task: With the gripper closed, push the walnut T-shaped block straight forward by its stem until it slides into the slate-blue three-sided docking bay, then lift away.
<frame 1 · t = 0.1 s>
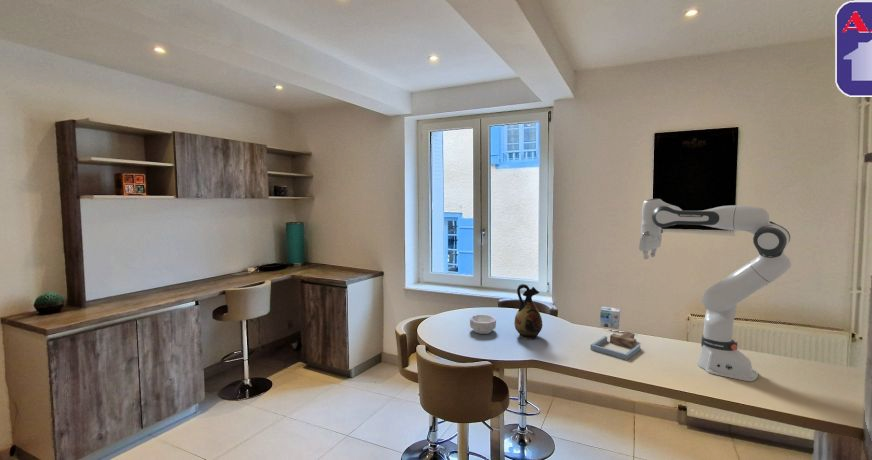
hand: (649, 257, 204), 48 cm above the counter, tool pointing down, fingers open, 8 cm apart
white stone bowl: (482, 331, 237), on the counter
docking bay: (615, 349, 208), on the counter
walnut T block: (625, 342, 217), on the counter
ceramic jug: (526, 336, 228), on the counter
light bulb box: (609, 326, 243), on the counter
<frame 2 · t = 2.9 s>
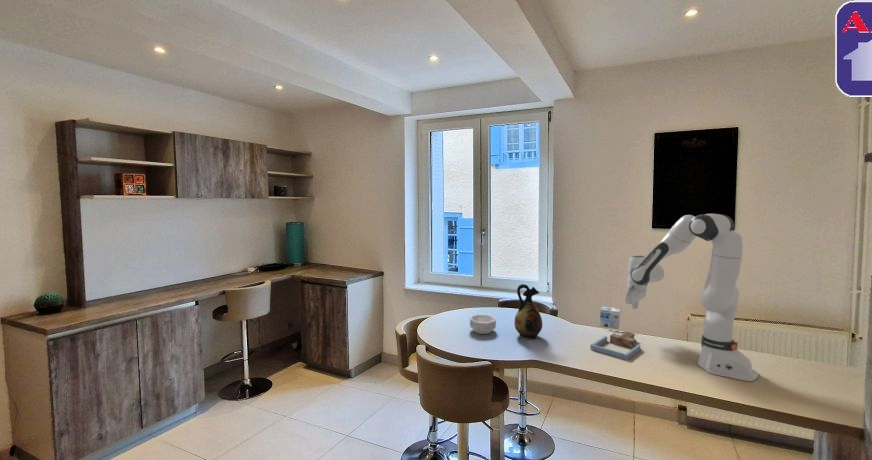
hand: (634, 308, 224), 16 cm above the counter, tool pointing down, fingers closed
nothing on the counter moved.
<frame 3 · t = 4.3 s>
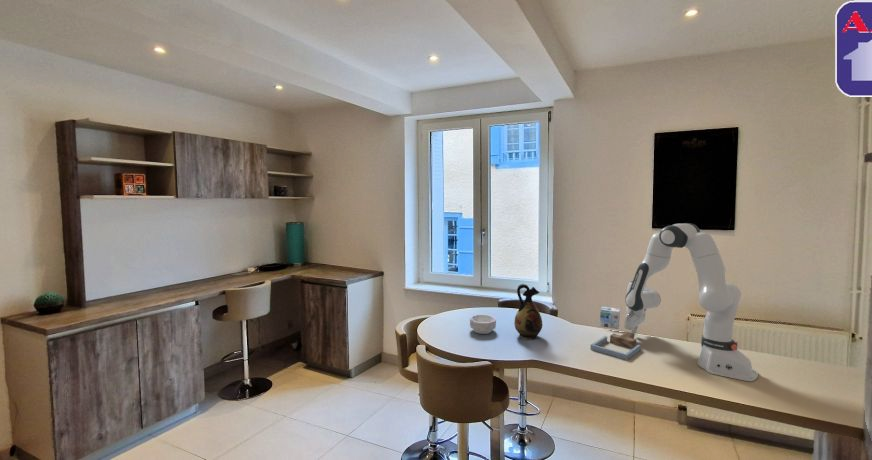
hand: (634, 333, 225), 2 cm above the counter, tool pointing down, fingers closed
nothing on the counter moved.
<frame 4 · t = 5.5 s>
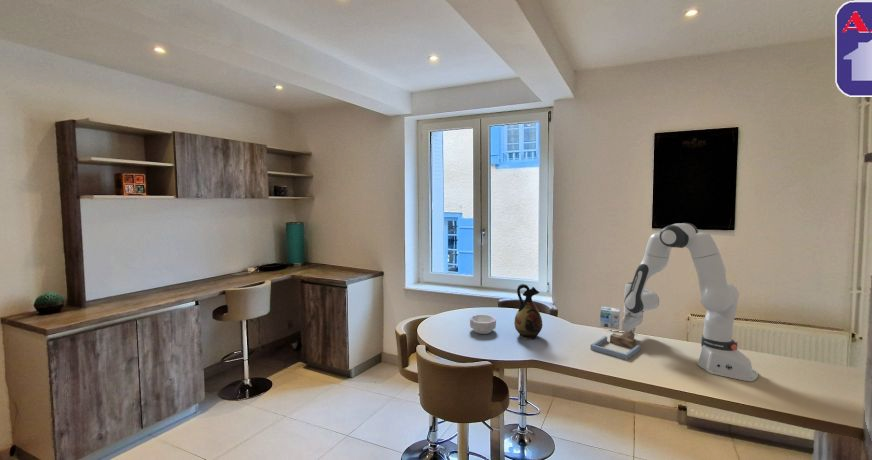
hand: (631, 335, 222), 2 cm above the counter, tool pointing down, fingers closed
walnut T block: (625, 342, 217), on the counter, touching gripper
everything else where it was.
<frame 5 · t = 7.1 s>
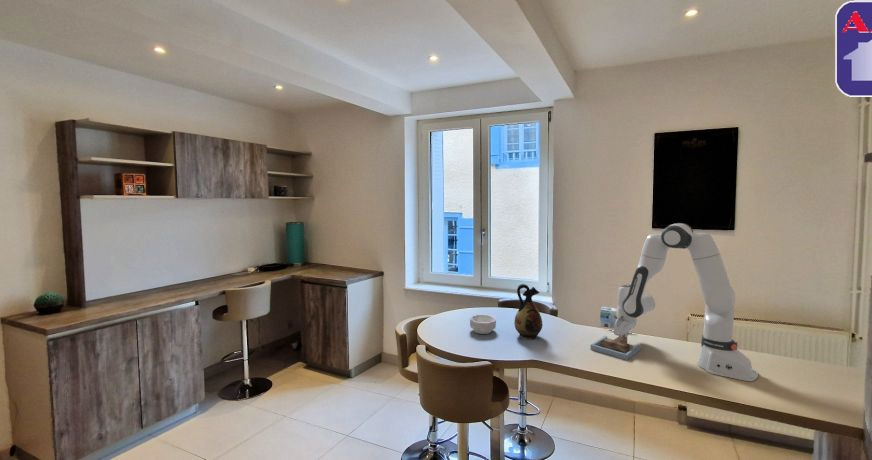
hand: (624, 339, 216), 2 cm above the counter, tool pointing down, fingers closed
walnut T block: (618, 347, 211), on the counter, touching gripper
everything else where it was.
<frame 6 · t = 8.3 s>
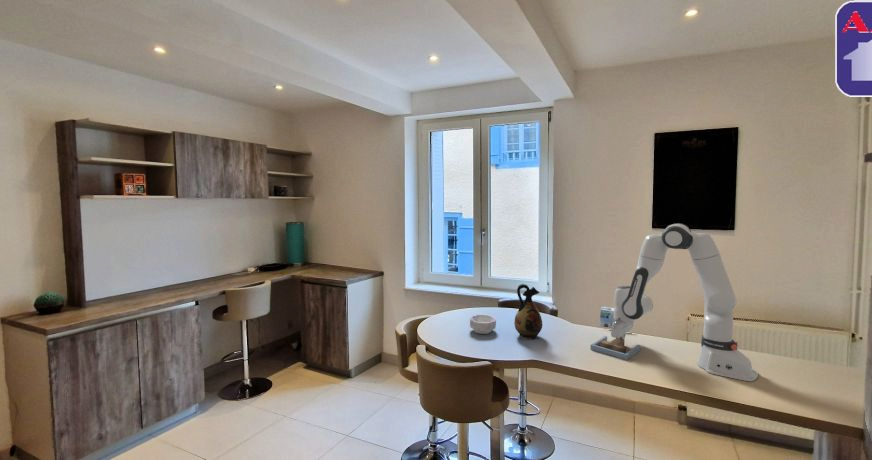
hand: (621, 341, 213), 2 cm above the counter, tool pointing down, fingers closed
walnut T block: (615, 349, 209), on the counter, touching gripper
everything else where it was.
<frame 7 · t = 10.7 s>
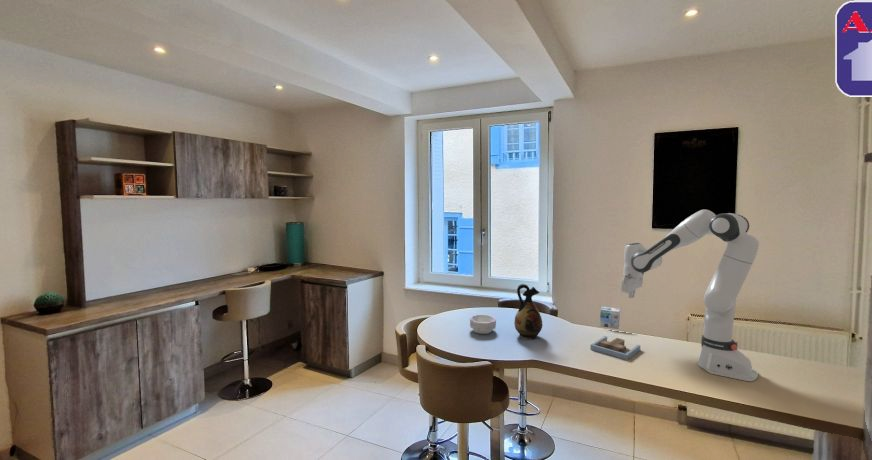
hand: (631, 297, 218), 24 cm above the counter, tool pointing down, fingers closed
walnut T block: (615, 349, 209), on the counter
everything else where it was.
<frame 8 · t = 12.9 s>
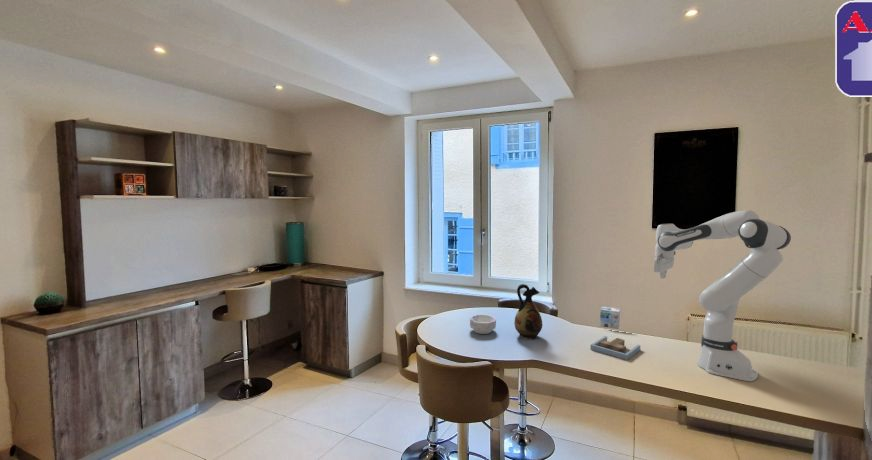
hand: (662, 278, 219), 34 cm above the counter, tool pointing down, fingers closed
nothing on the counter moved.
at the end: walnut T block 0.4 cm off-centre on the docking bay, point 0.0 cm above the docking bay's base; walnut T block tilted 0°; walnut T block moved 12.9 cm from its start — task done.
